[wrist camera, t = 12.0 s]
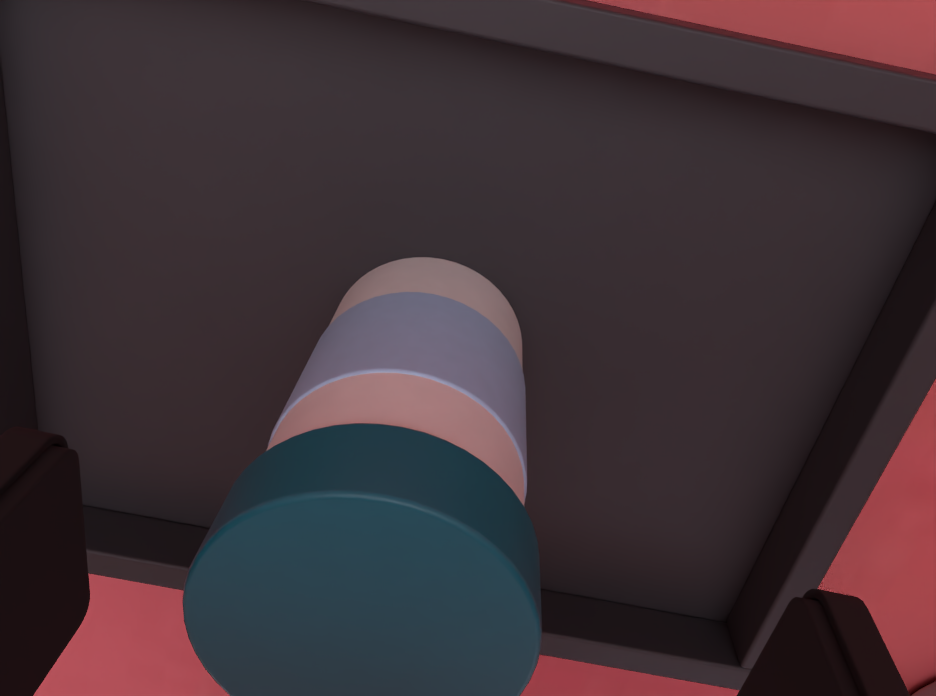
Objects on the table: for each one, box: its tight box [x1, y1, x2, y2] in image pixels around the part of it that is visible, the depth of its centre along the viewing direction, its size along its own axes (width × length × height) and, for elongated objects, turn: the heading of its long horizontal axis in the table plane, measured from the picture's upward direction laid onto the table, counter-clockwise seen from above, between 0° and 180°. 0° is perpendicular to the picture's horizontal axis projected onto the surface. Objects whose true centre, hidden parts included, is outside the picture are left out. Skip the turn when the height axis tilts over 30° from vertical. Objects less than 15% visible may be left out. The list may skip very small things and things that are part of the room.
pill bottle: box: [183, 257, 542, 696], centre depth 13 cm, size 5×5×8 cm
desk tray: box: [0, 0, 936, 690], centre depth 16 cm, size 15×20×2 cm
